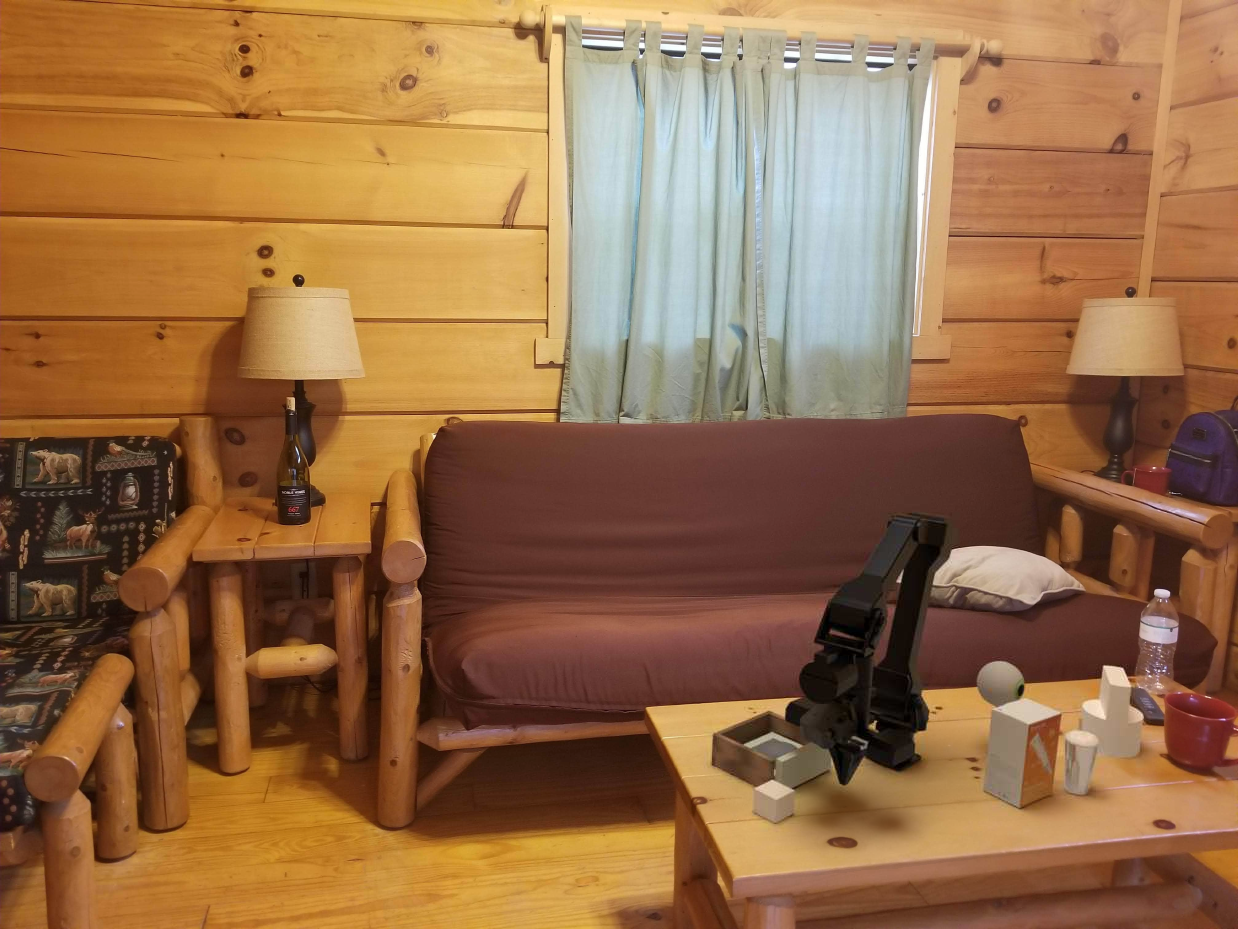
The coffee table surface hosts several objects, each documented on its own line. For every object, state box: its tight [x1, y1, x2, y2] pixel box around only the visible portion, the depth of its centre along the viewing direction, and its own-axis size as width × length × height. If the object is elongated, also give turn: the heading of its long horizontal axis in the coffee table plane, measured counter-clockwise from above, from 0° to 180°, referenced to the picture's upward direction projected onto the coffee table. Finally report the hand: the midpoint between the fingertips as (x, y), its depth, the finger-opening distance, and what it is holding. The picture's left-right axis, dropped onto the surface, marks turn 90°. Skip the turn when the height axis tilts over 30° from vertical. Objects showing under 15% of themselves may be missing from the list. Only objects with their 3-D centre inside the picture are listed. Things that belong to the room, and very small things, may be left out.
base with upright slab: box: [1080, 665, 1144, 759], centre depth 162 cm, size 9×9×12 cm
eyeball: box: [976, 660, 1026, 708], centre depth 158 cm, size 7×7×15 cm
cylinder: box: [757, 741, 798, 769], centre depth 151 cm, size 6×6×2 cm
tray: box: [744, 732, 832, 789], centre depth 151 cm, size 11×12×5 cm
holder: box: [711, 710, 811, 788], centre depth 153 cm, size 12×13×5 cm
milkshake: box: [1063, 718, 1099, 796], centre depth 147 cm, size 4×5×10 cm
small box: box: [982, 697, 1062, 809], centre depth 145 cm, size 8×6×13 cm
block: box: [752, 780, 796, 824], centre depth 139 cm, size 4×4×4 cm
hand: (843, 784), depth 143 cm, fingers closed
